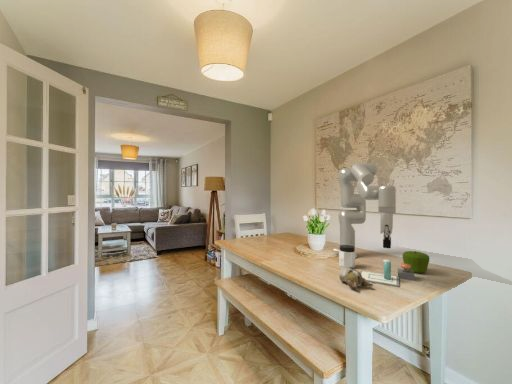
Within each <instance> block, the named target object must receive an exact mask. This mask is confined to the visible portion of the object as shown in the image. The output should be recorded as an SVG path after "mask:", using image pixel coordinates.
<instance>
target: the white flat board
mask: <svg viewBox="0 0 512 384" xmlns="http://www.w3.org/2000/svg"><path fill="white" fill-rule="evenodd" d="M359 272H360V273H361V275H362V278H365V279H366V280H367V281H368V282H369V283H371V284H373V283H374V284H379V285H384V286H390V287H391V286H392V287H395V288H396V287H397V288H400V279H399V277H398V275H392V274H391V279H390V280H386V279H384V273H382V272H373V271H366V270H360V271H359Z"/></svg>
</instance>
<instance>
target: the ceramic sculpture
mask: <svg viewBox="0 0 512 384" xmlns="http://www.w3.org/2000/svg"><path fill="white" fill-rule="evenodd" d="M338 276H339V280H340V282H342V283H347V285H348V287H350V288H351V289H358V287H359V286H361V285H362V286H364V287H373V286H374V284H373V283H371V282H368V281H367V280H366V279H365V278H362V275H361V273H360V271H358V270H356V269H355V268H353V267H350V268H346V267H344V266H341V267H340V271H339V274H338Z"/></svg>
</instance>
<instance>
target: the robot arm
mask: <svg viewBox="0 0 512 384" xmlns="http://www.w3.org/2000/svg"><path fill="white" fill-rule="evenodd" d="M376 174H377V166H376V165H375V164H374V163H371V162H358V163H357V162H356V163H354V164H352V166H351V167H346V168H342V169H340V170H339V172H338V175H337V178H338V183H339V187H340V205H341V207H342V208H347V209H342V210H341V211H339V212H338V222H339V246H340V245H351V246H354V247H355V248H356V230H355V228H354V227H353V225H359V224H364V223H365V222H366V220H367V219H366V218H367V214H366V213H367V211H366V210H367V208H366V207H367V206H366V204H367V203H366V201H367V200H368V201H375V200H376V201H378V203H377V204H378V209H377V210H378V214H380V223H379V225H380V227H379V228H380V231H379V232H380V234H382V235H383V239H382V246H383V247H382V248H383V249H392V248H391V246H392V236H391V234H393V227H394V225H393V224H394V215H396V213H397V212H396V210H397V208H396V207H397V205H396V203H397V201H396V200H397V198H396V197H397V196H396V195H397V191H396V190H397V189H396V187H395V185H371V184H372V183H373V182H374V180H375V176H376ZM352 182H357V183H356V190H357V193H355V189H354V185H353V183H352ZM339 250H340V248H333V252H334V251H335V253H337V256H338V257H339ZM357 258H358V254H356V253H355V259H357Z"/></svg>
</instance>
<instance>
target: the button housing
mask: <svg viewBox="0 0 512 384" xmlns="http://www.w3.org/2000/svg"><path fill="white" fill-rule="evenodd" d="M397 276H398V277H399V280H408V281H413V282H414V281H415V273H414V271H411V270H408V273H407V272H404V268H397Z"/></svg>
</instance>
